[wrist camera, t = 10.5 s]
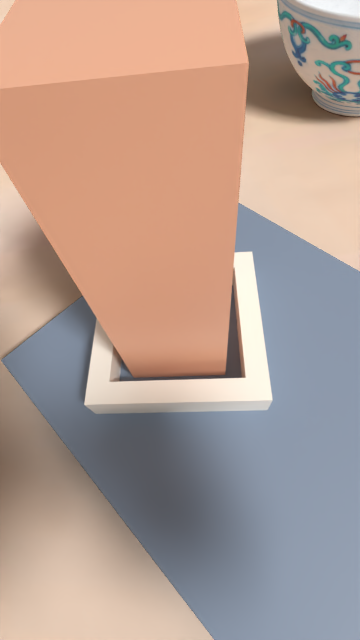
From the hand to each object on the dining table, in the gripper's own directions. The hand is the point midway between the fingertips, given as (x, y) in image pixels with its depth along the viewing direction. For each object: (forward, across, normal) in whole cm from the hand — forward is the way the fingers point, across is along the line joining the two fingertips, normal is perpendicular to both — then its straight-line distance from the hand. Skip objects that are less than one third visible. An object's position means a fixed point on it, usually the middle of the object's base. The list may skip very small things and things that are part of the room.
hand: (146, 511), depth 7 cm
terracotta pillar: (+11, 0, 0) cm, 11 cm away
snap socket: (+11, 0, 0) cm, 11 cm away
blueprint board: (+10, -4, +2) cm, 11 cm away
